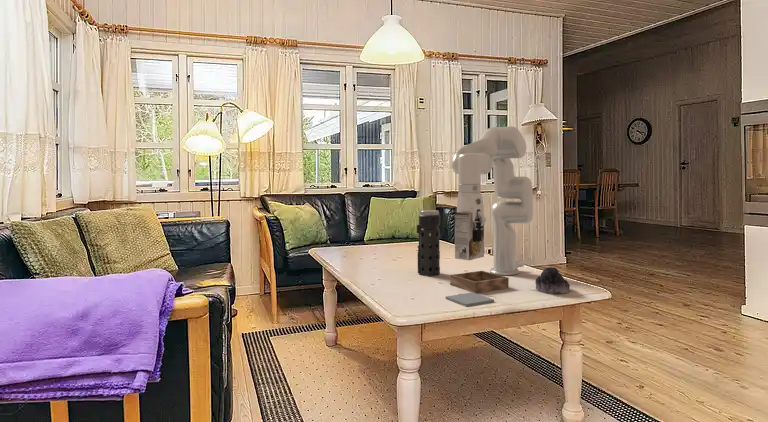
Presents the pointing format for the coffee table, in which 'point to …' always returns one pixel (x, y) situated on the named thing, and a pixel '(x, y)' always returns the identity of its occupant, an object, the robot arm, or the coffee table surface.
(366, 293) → the coffee table surface
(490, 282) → the corral
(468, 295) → the mat
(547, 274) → the crystal cluster
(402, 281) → the coffee table surface
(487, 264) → the coffee table surface
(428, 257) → the muzzle brake
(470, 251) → the coffee box
